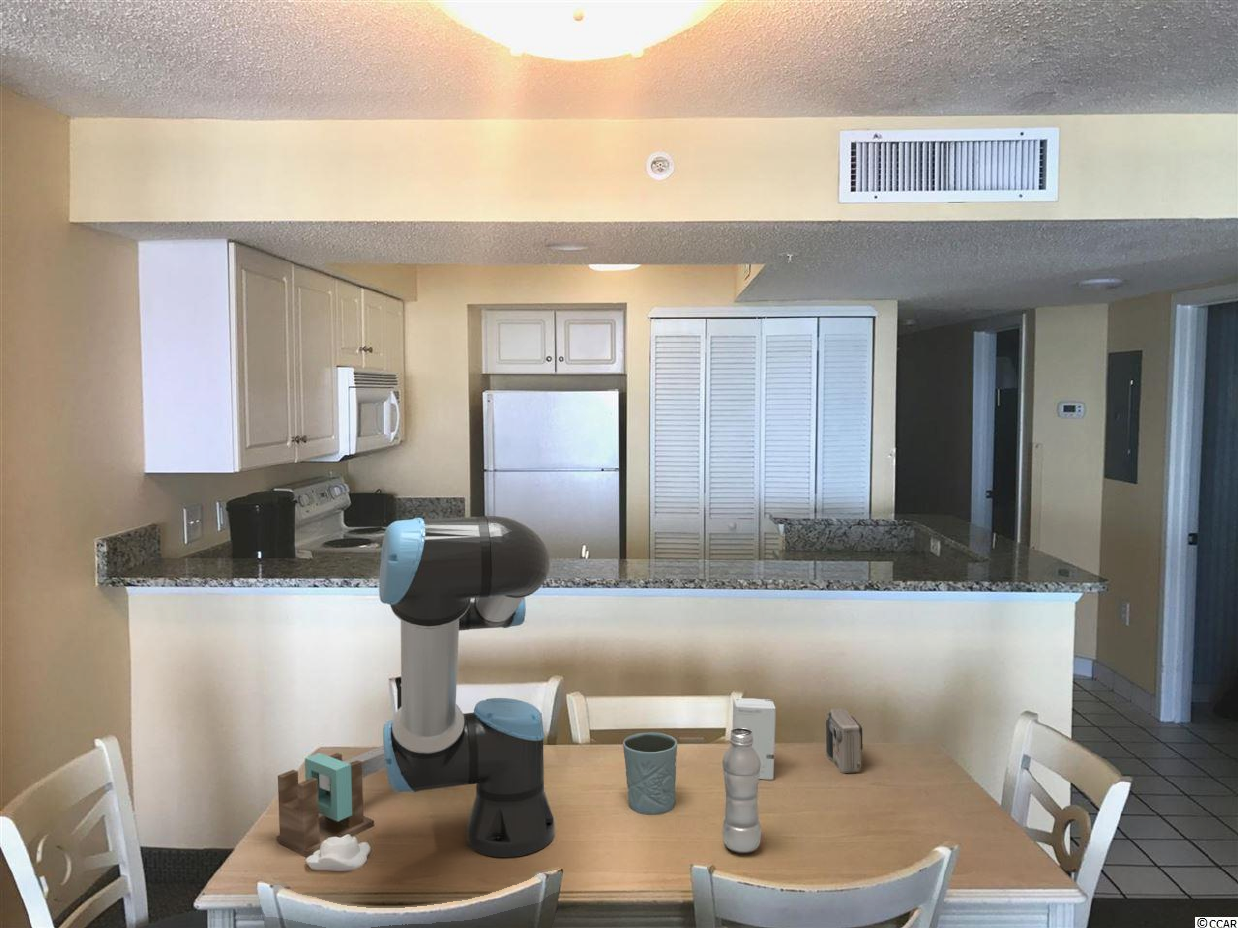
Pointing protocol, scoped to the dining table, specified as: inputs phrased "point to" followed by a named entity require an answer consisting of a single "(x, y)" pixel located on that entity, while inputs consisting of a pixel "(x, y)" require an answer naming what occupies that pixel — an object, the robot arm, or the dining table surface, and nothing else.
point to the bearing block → (316, 812)
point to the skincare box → (758, 729)
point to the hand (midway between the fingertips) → (424, 766)
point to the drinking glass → (650, 772)
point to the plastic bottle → (741, 793)
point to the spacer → (340, 783)
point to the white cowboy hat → (339, 854)
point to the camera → (843, 740)
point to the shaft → (370, 765)
